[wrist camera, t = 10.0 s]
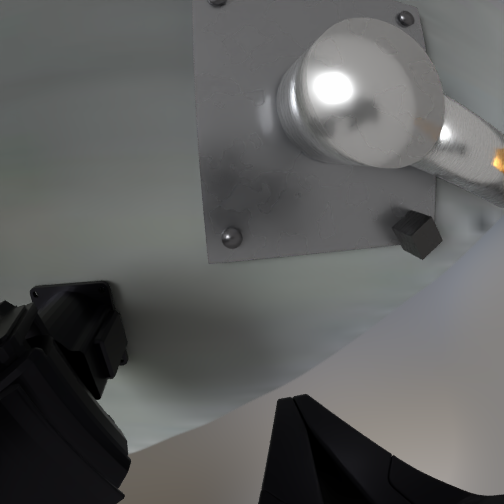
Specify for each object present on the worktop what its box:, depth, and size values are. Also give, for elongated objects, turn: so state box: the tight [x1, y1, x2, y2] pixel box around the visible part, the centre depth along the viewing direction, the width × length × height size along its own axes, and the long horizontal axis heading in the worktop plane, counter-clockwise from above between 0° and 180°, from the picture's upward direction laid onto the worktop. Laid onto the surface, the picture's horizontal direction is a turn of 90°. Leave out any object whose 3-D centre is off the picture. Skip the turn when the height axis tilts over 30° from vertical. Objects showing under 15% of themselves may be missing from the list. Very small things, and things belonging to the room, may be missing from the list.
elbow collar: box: [276, 17, 504, 208], centre depth 15 cm, size 16×7×6 cm, turn 77°
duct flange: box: [192, 0, 443, 264], centre depth 17 cm, size 16×18×3 cm
